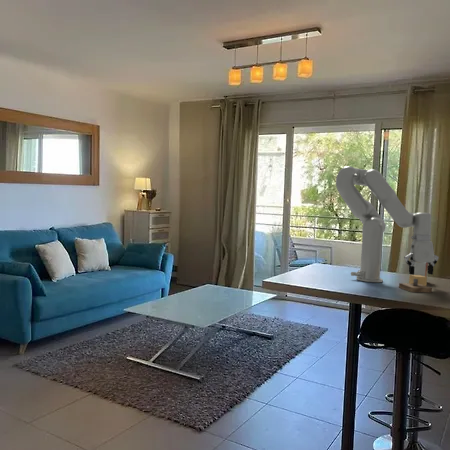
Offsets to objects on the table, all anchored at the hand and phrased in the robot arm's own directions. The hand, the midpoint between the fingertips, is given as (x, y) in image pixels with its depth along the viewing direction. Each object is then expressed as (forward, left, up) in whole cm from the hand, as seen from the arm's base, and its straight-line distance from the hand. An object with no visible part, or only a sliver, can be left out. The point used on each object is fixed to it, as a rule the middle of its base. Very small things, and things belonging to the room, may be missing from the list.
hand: (421, 274), depth 217 cm
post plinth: (-8, -8, -6) cm, 13 cm away
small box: (+8, +13, -6) cm, 16 cm away
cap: (-1, +1, -6) cm, 6 cm away
